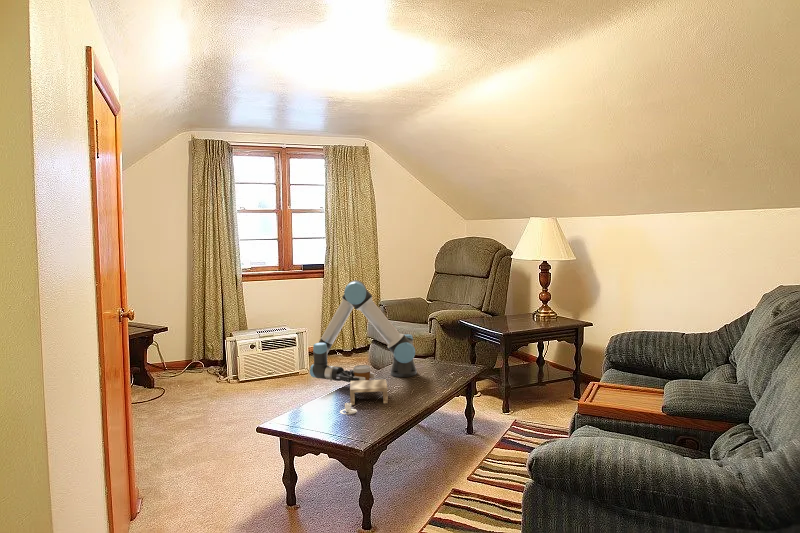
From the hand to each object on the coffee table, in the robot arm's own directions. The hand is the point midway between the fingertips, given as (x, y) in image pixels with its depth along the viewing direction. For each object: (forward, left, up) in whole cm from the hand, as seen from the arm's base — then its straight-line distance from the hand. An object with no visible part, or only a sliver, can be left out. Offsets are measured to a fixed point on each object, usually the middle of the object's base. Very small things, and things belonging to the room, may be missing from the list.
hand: (369, 378), depth 295 cm
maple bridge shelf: (+1, +15, -7) cm, 17 cm away
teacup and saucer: (+12, +36, -7) cm, 38 cm away
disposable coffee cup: (+4, -3, -7) cm, 8 cm away
